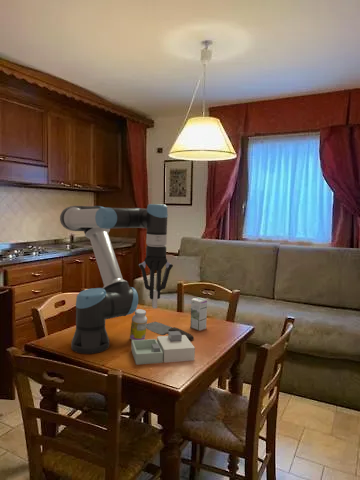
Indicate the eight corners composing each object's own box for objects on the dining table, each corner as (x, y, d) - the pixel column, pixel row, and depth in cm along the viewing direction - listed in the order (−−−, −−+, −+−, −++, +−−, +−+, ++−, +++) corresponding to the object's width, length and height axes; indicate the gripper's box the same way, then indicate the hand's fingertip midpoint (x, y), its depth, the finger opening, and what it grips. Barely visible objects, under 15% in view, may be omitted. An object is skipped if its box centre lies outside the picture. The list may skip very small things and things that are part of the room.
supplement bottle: (128, 335, 164) (131, 307, 162) (143, 335, 166) (146, 308, 164) (130, 342, 158) (134, 314, 156) (146, 342, 160) (149, 314, 158)
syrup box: (206, 328, 180) (208, 299, 179) (198, 331, 176) (200, 301, 174) (197, 325, 184) (199, 296, 183) (189, 328, 180) (190, 298, 178)
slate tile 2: (170, 341, 148) (170, 335, 148) (168, 337, 153) (168, 331, 152) (181, 340, 149) (181, 334, 149) (178, 336, 154) (178, 330, 153)
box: (136, 364, 137) (136, 354, 137) (131, 349, 151) (131, 340, 151) (162, 362, 140) (162, 352, 140) (155, 348, 153) (155, 338, 153)
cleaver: (197, 339, 166) (197, 334, 166) (182, 344, 159) (182, 339, 159) (154, 323, 187) (154, 319, 187) (139, 327, 180) (139, 323, 180)
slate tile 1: (159, 359, 141) (153, 359, 141) (157, 354, 146) (151, 355, 145) (160, 348, 141) (153, 348, 140) (157, 343, 145) (151, 343, 145)
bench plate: (163, 362, 140) (164, 349, 140) (156, 348, 154) (157, 336, 153) (194, 360, 143) (194, 347, 143) (184, 346, 157) (185, 334, 156)
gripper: (140, 246, 133) (138, 310, 136) (175, 246, 137) (173, 309, 139) (137, 244, 141) (136, 305, 143) (171, 244, 144) (169, 304, 146)
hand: (154, 307), depth 141 cm, fingers closed
